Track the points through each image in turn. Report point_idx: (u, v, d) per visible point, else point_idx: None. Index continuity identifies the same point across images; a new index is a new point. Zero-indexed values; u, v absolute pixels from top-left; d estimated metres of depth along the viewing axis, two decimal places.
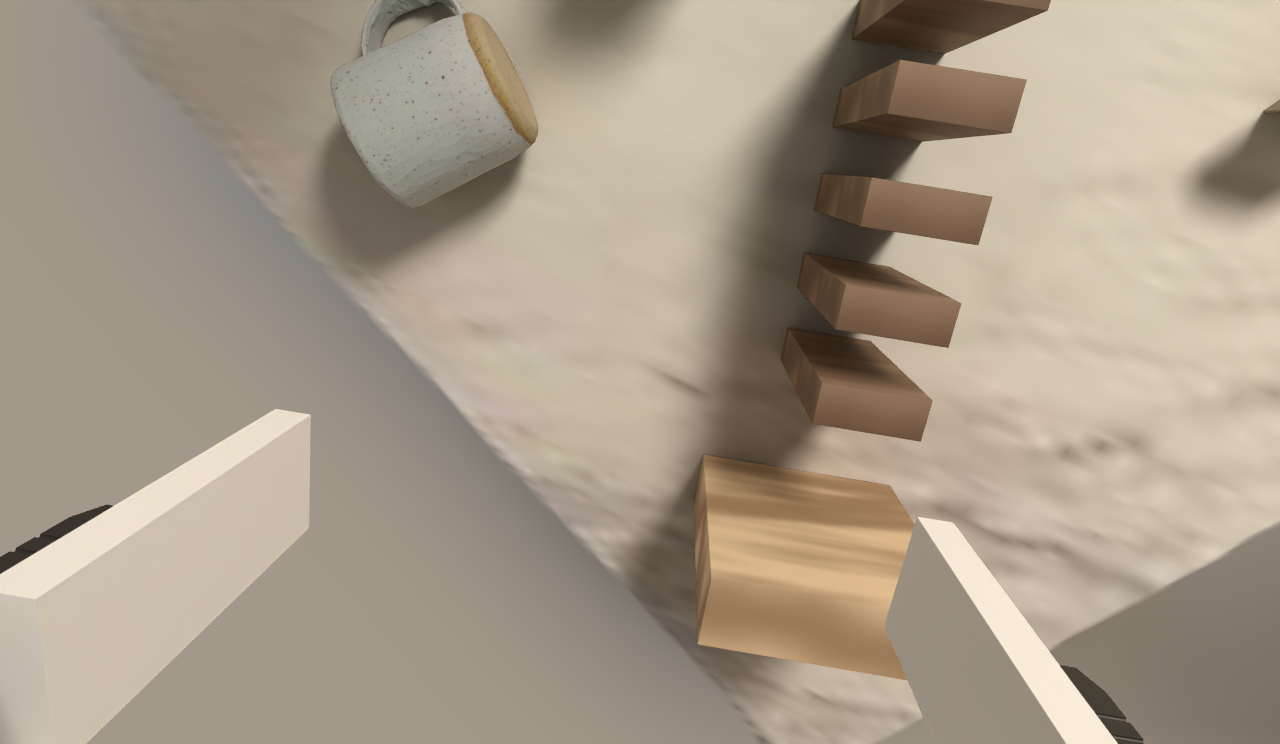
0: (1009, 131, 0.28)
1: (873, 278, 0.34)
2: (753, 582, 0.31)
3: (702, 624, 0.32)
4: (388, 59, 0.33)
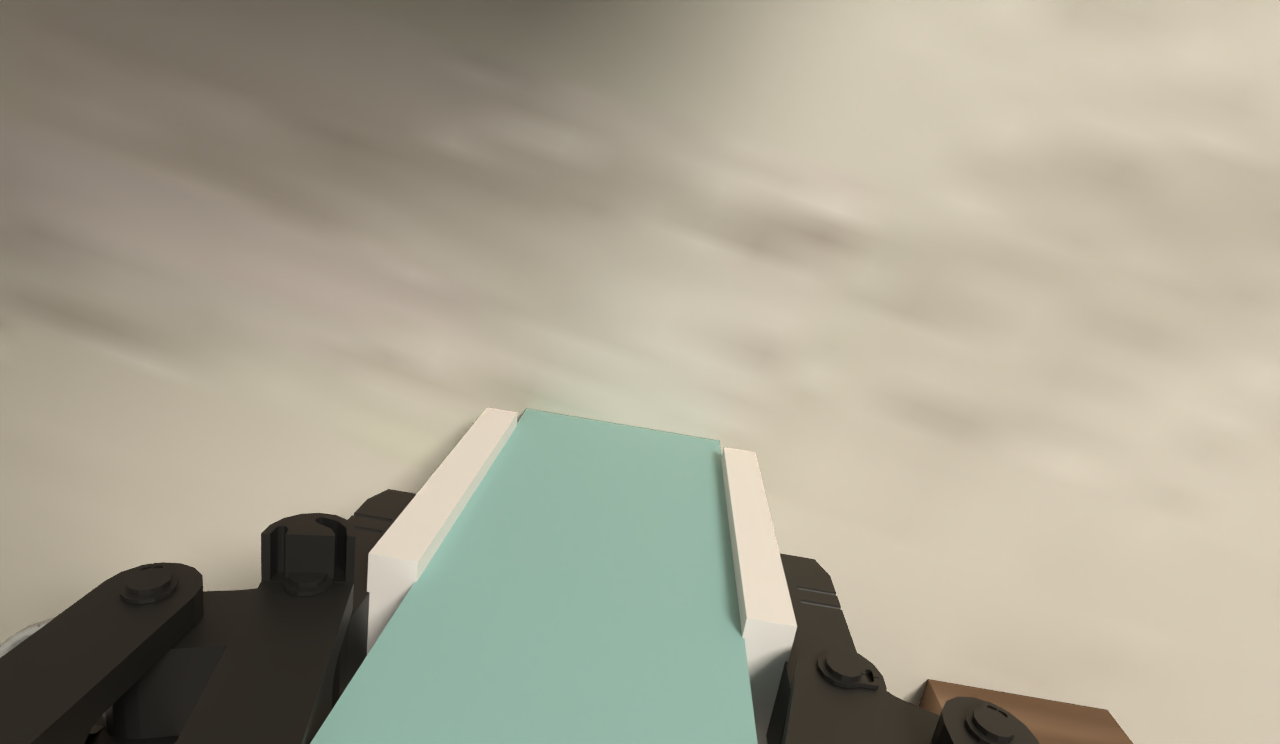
0: None
1: None
2: None
3: None
4: None
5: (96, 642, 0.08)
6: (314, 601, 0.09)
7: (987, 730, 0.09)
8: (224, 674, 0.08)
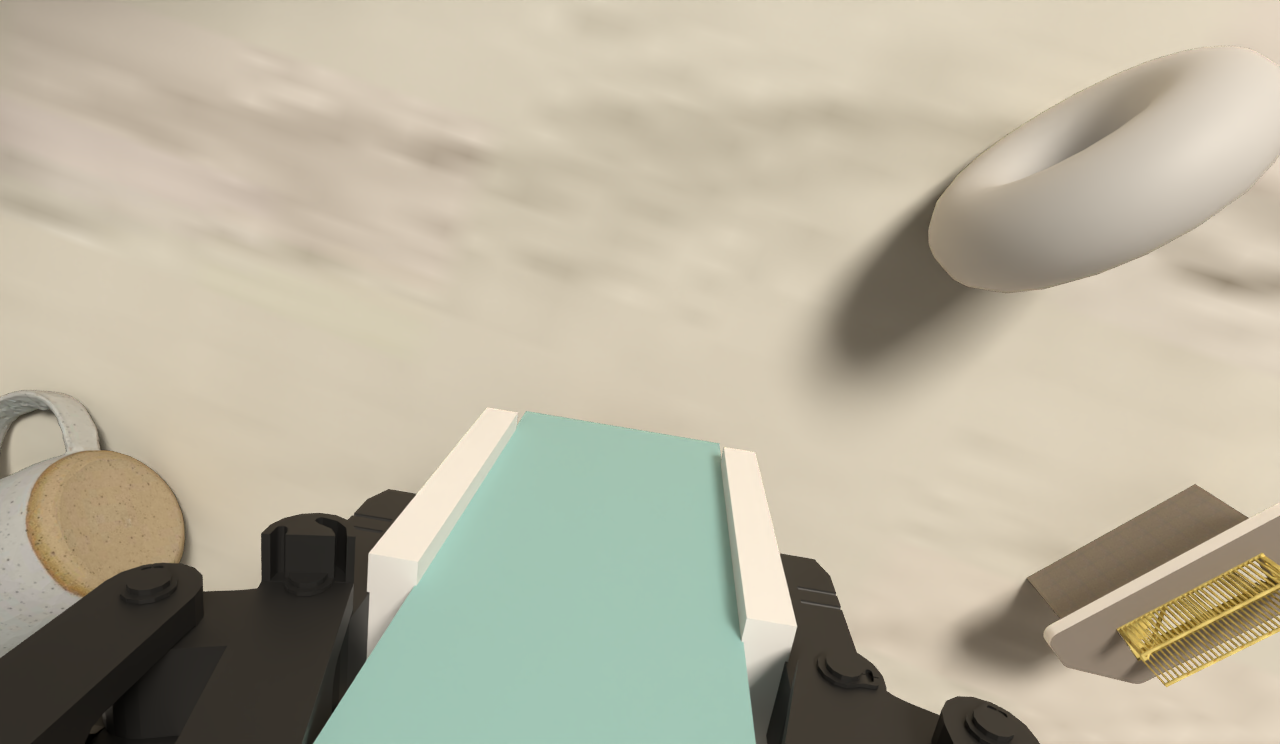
0: None
1: None
2: None
3: None
4: None
5: (96, 642, 0.08)
6: (314, 601, 0.09)
7: (986, 729, 0.09)
8: (224, 674, 0.08)
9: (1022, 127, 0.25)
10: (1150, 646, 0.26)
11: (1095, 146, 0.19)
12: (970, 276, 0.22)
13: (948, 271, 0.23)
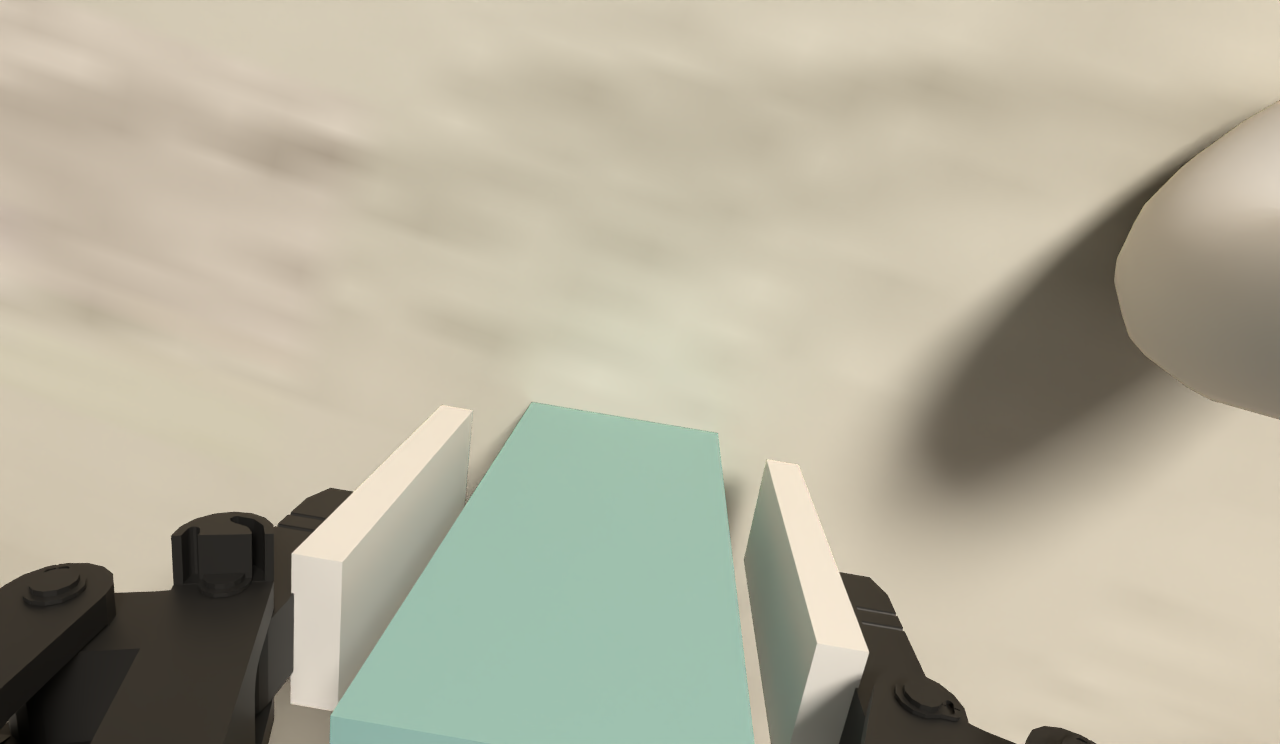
0: None
1: None
2: None
3: None
4: None
5: None
6: (232, 602, 0.09)
7: None
8: (136, 681, 0.08)
9: None
10: None
11: None
12: (1248, 394, 0.11)
13: (1181, 374, 0.12)
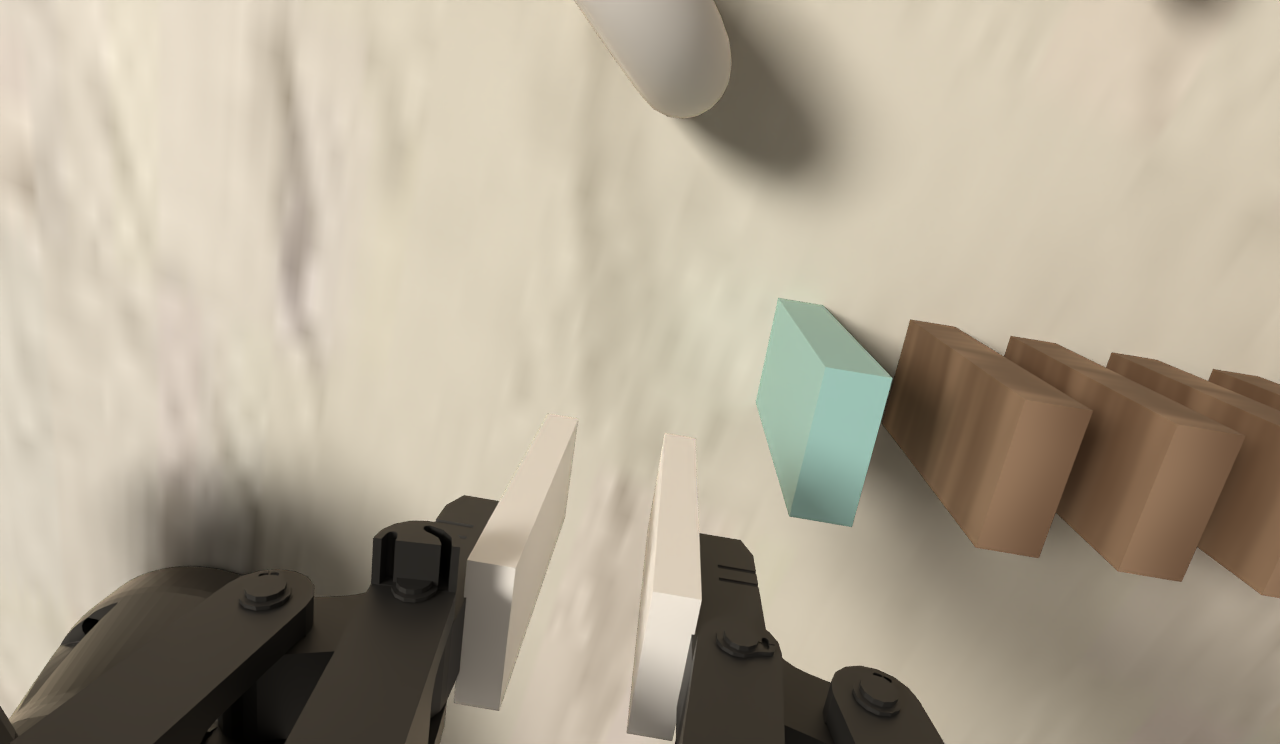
0: (1242, 437, 0.21)
1: None
2: None
3: None
4: None
5: (215, 646, 0.08)
6: (419, 608, 0.10)
7: (873, 696, 0.09)
8: (333, 674, 0.08)
9: (591, 25, 0.27)
10: None
11: (590, 15, 0.21)
12: (713, 94, 0.23)
13: (713, 104, 0.24)
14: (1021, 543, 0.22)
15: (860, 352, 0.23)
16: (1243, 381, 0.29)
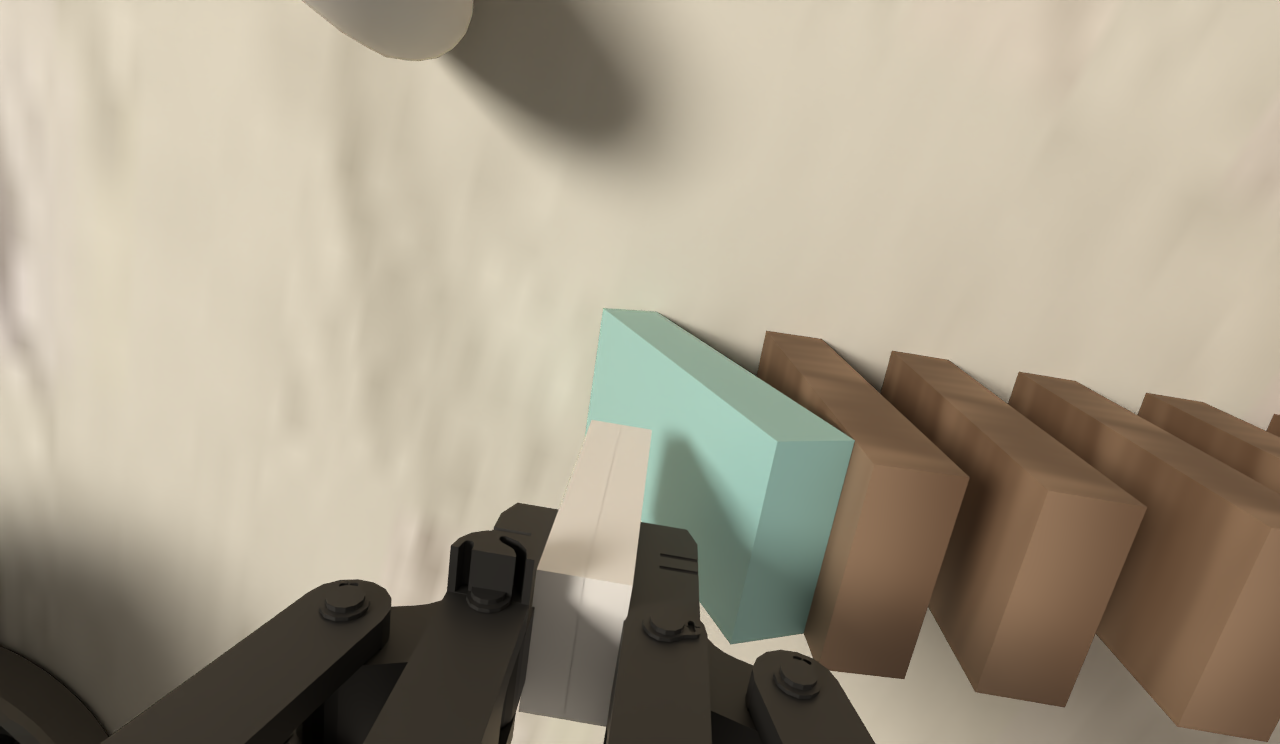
0: (1142, 508, 0.14)
1: None
2: None
3: None
4: None
5: (295, 656, 0.08)
6: (492, 619, 0.10)
7: (792, 680, 0.09)
8: (409, 681, 0.08)
9: None
10: None
11: None
12: (424, 21, 0.17)
13: (442, 40, 0.18)
14: (879, 661, 0.15)
15: (775, 395, 0.17)
16: (1180, 410, 0.23)
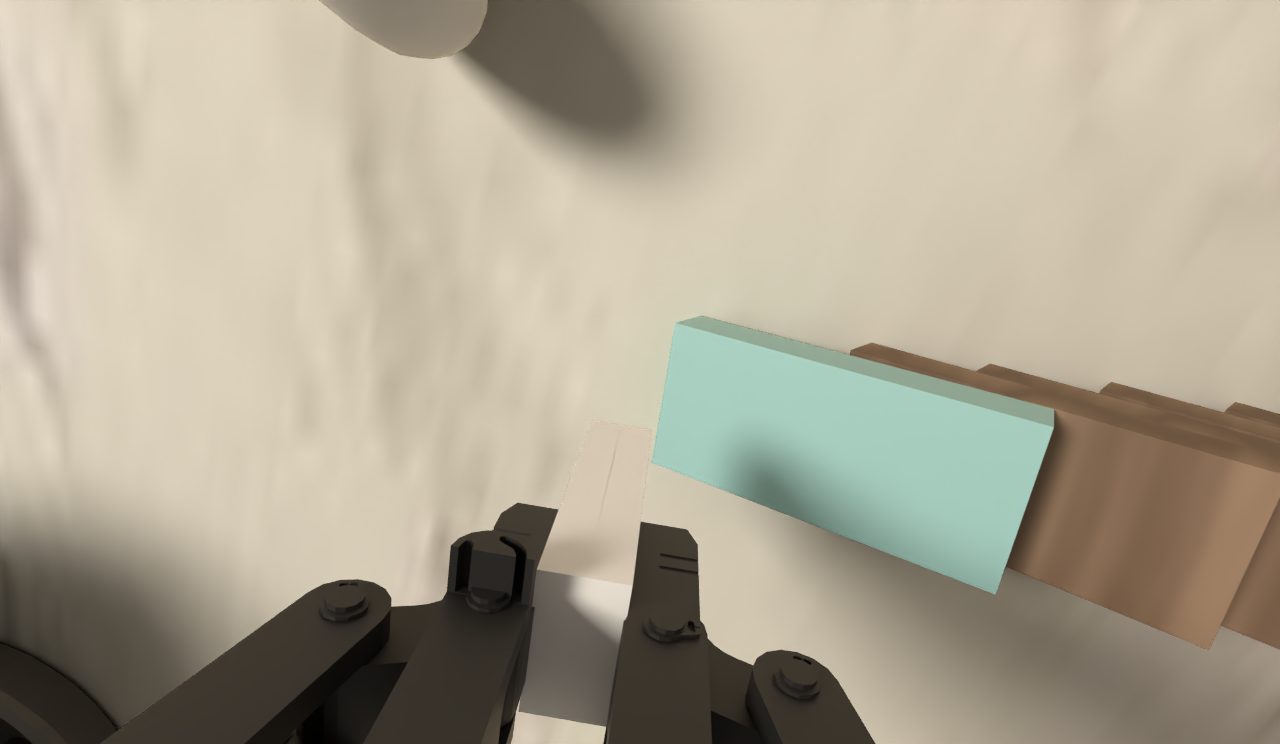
0: None
1: None
2: None
3: None
4: None
5: (295, 656, 0.08)
6: (492, 619, 0.10)
7: (792, 680, 0.09)
8: (409, 681, 0.08)
9: None
10: None
11: None
12: (439, 17, 0.16)
13: (457, 37, 0.18)
14: None
15: (950, 383, 0.20)
16: None
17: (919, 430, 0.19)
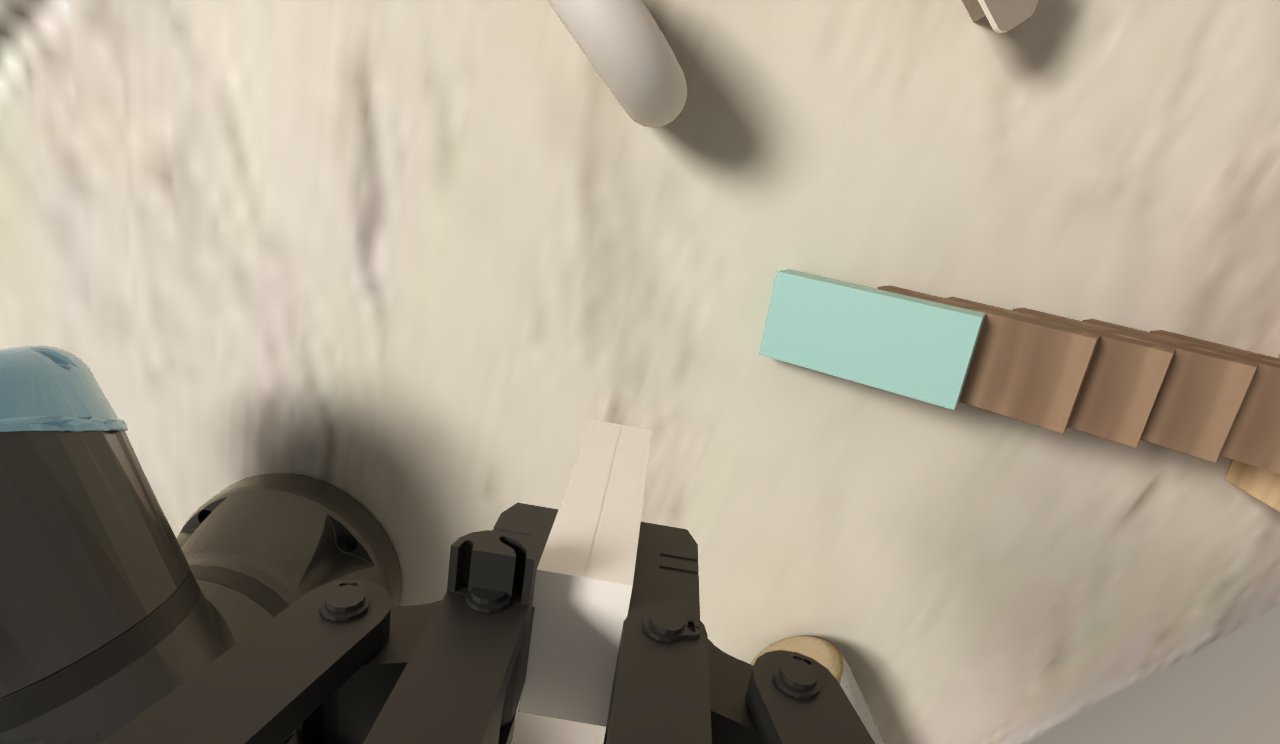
0: (1173, 350, 0.35)
1: None
2: None
3: None
4: None
5: (295, 656, 0.08)
6: (492, 619, 0.10)
7: (793, 681, 0.09)
8: (409, 681, 0.08)
9: None
10: None
11: (589, 60, 0.31)
12: (674, 111, 0.34)
13: (674, 118, 0.35)
14: (1069, 421, 0.36)
15: (931, 301, 0.38)
16: (1117, 329, 0.39)
17: (914, 324, 0.37)
